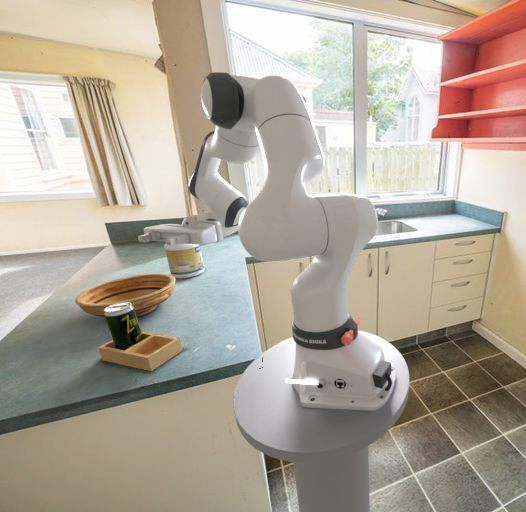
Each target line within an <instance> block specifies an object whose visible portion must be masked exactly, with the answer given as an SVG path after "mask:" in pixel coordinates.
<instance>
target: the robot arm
mask: <svg viewBox="0 0 526 512" xmlns="http://www.w3.org/2000/svg"><path fill="white" fill-rule="evenodd" d="M200 100H201V105H202V108H203V110H204V114H205V116H206V118H207V119H208V120H209V121H210V122H211V124H213V125H214V126H215V129H214V130H213V131H210V132H208V133H207V134H206V136H205V137H204V139H203V141H202V143H201V146H200V150H199V153H198V158H197V161H196V164H195V168H194V171H193V172H192V175H191V177H190V179H189V182H188V191H189V194H190V195H191V196H192V197H194V198H195V199H197V200H199V201H200V202H202V203H203V204H204V205H205V206H206V207H208V208H209V209H210V211H208V212H204V213H197V214H192V215H189V216H188V215H187V216H186V217H184V218H183V219H182V222H181V224H180V223H164V224H163V223H162V224H158V225H157V224H156V225H151V226H147V227H145V228H143V234H141V235H138V236H137V239H138V242H139V243H142V244H144V243H150V242H151V241H152V242H153V241H154V242H163V243H164V242H165V243H167V245H175V244H182V243H186V244H197V245H200V246H203V245H208V244H213V243H221V242H223V241H224V237H228V236H230V235H232V234H235V233H238V237H239V241H240V243H241V245H242V247H243V249H244V250H245V251H246V252H247V254H249V255H250V256H251V257H252V258H254V259H255V260H256V261H259V262H286V261H293V260H297V259H302V258H307V257H313V259H312V260H311V262H310V264H309V265H308V267H306V268H305V269H304V270H303V271H302V272H300V273H299V274H298V275H297V276H296V277H295V278H294V280H293V282H292V285H291V288H290V299H291V307H292V321H291V328H292V329H291V331H292V337H293V339H294V341H295V344H296V355H295V367H294V372H293V376H292V379H286V380H285V382H286V383H292V384H293V387H294V389H295V390H296V391H297V392H298V394H299V396H300V404H301V405H302V406H303V407H310V408H329V409H348V410H367V411H376V410H378V409H379V408H381V407H382V406H383V405H384V404H385V403H386V402H387V400H388V399H389V397H390V396H391V394H392V391H393V389H394V385H395V381H396V370H395V366H394V364H393V362H391V361H388V360H385V356H384V353H383V350H382V348H381V347H380V346H379V345H378V344H376V343H375V342H374V341H372V340H371V339H369V338H368V337H367V336H365V335H364V334H362V333H361V332H360V331H361V330H359V329H358V328H359V327H358V326H359V325H360V324H361V323H360V322H361V320H360V318H361V317H360V316H359V317H358V318H357V319H356V320H354V319H353V318H352V315H351V313H350V311H349V288H350V279H351V275H352V271H353V269H354V267H355V264H356V262H357V260H358V257H359V256H360V254H361V252H362V251H363V249H364V248H365V247H366V246H367V245H368V243H370V241H371V240H373V239H374V237H375V235H376V234H377V233H376V232H377V231H378V225H379V217H378V212H377V210H376V207H375V205H374V203H373V202H372V201H371V200H370V199H369V198H368V197H367V196H365V195H360V194H355V193H346V192H338V193H325V194H309V193H308V191H307V190H306V186H308V185H310V184H311V183H312V182H314V181H315V180H316V179H317V178H319V176H320V175H321V174H322V172H323V170H324V166H325V155H324V152H323V149H322V145H321V142H320V139H319V136H318V133H317V131H316V130H317V129H316V127H315V124H314V121H313V119H312V115H311V113H310V109H309V105H308V103H307V99H306V98H305V97H304V96H303V94H302V93H301V92H300V91H299V89H298V88H297V87H296V85H295V84H294V83H293V82H292V81H291V80H290V79H288V78H286V77H283V76H281V75H267V76H264V77H261V78H260V79H259V78H255V77H249V76H244V75H243V76H242V75H234V74H229V73H228V72H219V71H218V72H216V71H215V72H210V73H208V74H207V75H206V76H205V77H204V79H203V82H202V86H201V90H200ZM260 152H261V153H260ZM259 154H261V156H262V162H263V166H264V181H263V184H262V187H261V190H260V191H259V193H258V194H257V196H255V198H254V199H253V200H251V202H250V203H249V200H248V199H247V197H246V196H245V195H243V194H242V193H241V192H240V191H239V190H237V189H236V188H235V187H234V186H232V185H231V184H229V183H228V182H227V181H226V180H225V179H224V178H223V177H222V176H221V175H220V173H219V167H220V165H221V162H222V161H223V162H226V163H229V164H233V165H245V164H249V163H251V162H253V161H254V160H255V159H257V157H258V156H259ZM358 330H359V331H358ZM381 398H382V399H381Z"/></svg>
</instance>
